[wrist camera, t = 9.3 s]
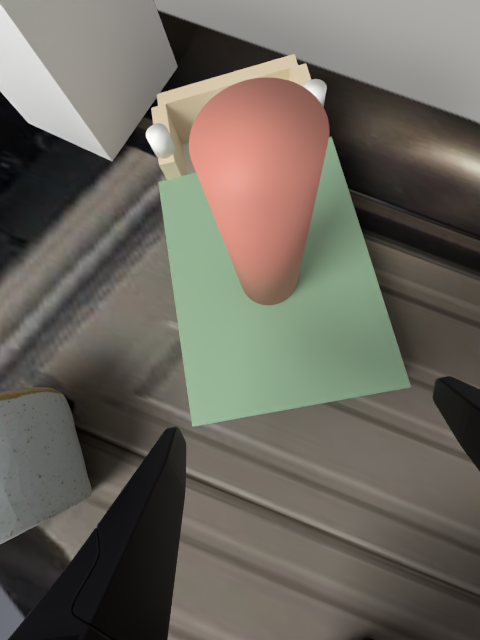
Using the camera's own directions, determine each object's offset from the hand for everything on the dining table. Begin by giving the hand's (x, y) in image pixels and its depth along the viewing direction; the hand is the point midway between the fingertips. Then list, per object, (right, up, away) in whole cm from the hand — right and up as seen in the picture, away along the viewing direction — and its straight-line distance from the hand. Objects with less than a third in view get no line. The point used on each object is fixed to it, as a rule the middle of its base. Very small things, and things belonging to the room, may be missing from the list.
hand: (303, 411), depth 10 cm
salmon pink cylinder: (0, +6, +10) cm, 12 cm away
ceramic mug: (-18, -8, +12) cm, 23 cm away
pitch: (0, +6, +12) cm, 14 cm away
